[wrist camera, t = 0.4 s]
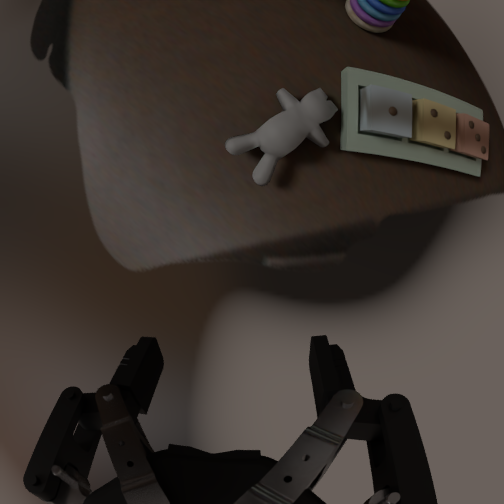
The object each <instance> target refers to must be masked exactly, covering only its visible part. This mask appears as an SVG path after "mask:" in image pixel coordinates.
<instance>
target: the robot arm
mask: <svg viewBox="0 0 504 504" xmlns="http://www.w3.org/2000/svg"><path fill="white" fill-rule="evenodd" d="M163 366H164V360H163V356H162V353H161V351H160V348H159V345H158V342H157V339H156V338H155V337H141V338H140V340H139V342H138V343H137V345H133V346H132V347H131V348H129V349H128V350H127V351H126V353H125V355H124V357H123V359H122V361H121V362H120V365H119V366H118V368H117V370H116V372H115V374H114V376H113V378H112V380H111V382H110V384H106V385H103V386H101V387H100V388H99V389H98V390H97V391H96V393H82V391H81V390H80V389H79V388H78V387H68V388H66V389H65V390H64V391H63V392H62V393H61V395H60V397H59V399H58V401H57V403H56V405H55V407H54V409H53V411H52V413H51V415H50V417H49V419H48V421H47V423H46V425H45V427H44V429H43V431H42V434H41V436H40V438H39V440H38V443H37V445H36V447H35V449H34V452H33V454H32V457H31V459H30V462H29V464H28V466H27V469H26V472H25V474H24V478H23V481H24V485H25V487H26V489H27V490H28V491H29V492H31V493H32V494H34V495H35V496H37V497H39V498H40V499H41V500H43V501H44V502H46V503H48V504H326V503H325V502H324V501H322V500H321V499H320V498H319V497H318V496H317V495H316V494H314V493H313V492H312V490H313V488H314V487H315V486H316V485H317V483H318V482H319V481H320V479H321V478H322V477H323V475H324V474H325V472H326V471H327V469H328V468H329V466H330V465H331V463H332V462H333V460H334V459H335V457H336V456H337V454H338V453H339V451H340V450H341V448H342V447H343V445H344V443H345V442H346V440H347V439H356V440H366V441H367V447H368V453H369V459H370V465H371V472H372V479H373V487H374V495H373V496H371V497H370V498H369V499H368V500H366V502H365V503H364V504H437V499H436V494H435V489H434V485H433V481H432V476H431V472H430V468H429V464H428V461H427V457H426V453H425V450H424V446H423V443H422V439H421V436H420V433H419V430H418V426H417V423H416V420H415V417H414V414H413V411H412V408H411V405H410V402H409V400H408V399H407V398H406V397H405V396H403V395H400V394H390V395H388V396H386V397H385V398H384V399H383V400H372V399H367V398H364V397H362V396H361V395H360V394H359V393H358V392H357V391H356V390H355V388H354V384H353V381H352V378H351V374H350V371H349V368H348V366H347V362H346V360H345V355H344V353H343V350H342V349H341V348H340V347H339V346H338V345H337V344H335V345H329V343H328V339H327V336H326V335H323V336H312V337H311V343H310V354H309V368H310V374H311V380H312V386H313V392H314V398H315V404H316V411H317V420H316V421H315V422H314V424H313V425H312V426H311V427H307V428H306V430H304V432H303V433H302V434H301V435H300V437H299V438H298V439H297V440H296V441H295V443H294V444H293V445H292V446H291V447H290V449H289V450H288V451H287V452H286V453H285V454H284V456H283V457H282V458H281V459H280V460H279V461H276V460H274V459H272V458H269V457H266V456H261V453H260V450H234V451H228V452H222V453H216V454H211V453H208V452H205V451H202V450H199V449H196V448H193V447H189V446H181V445H173V444H169V447H168V449H166V450H161V451H157V452H154V450H153V449H152V447H151V445H150V444H149V441H148V439H147V437H146V435H145V433H144V431H143V429H142V427H141V425H140V423H139V420H138V419H137V417H138V414H139V413H141V414H147V411H148V408H149V406H150V403H151V400H152V397H153V394H154V392H155V389H156V386H157V383H158V380H159V378H160V375H161V373H162V370H163ZM77 423H78V426H77V428H76V425H77ZM75 428H76V431H75V433H74V430H75ZM73 433H74V436H73ZM101 435H103V439H104V441H105V444H106V447H107V450H108V453H109V456H110V458H111V461H112V464H113V466H114V469H115V471H116V474H117V477H116V478H114V479H113V480H111V481H110V482H108V483H107V484H105V485H103V486H102V487H100V488H99V489H97V490H95V491H94V492H92V490H91V489H90V483H89V481H88V479H87V478H88V475H89V471H90V468H91V465H92V461H93V459H94V455H95V452H96V449H97V446H98V443H99V440H100V437H101Z"/></svg>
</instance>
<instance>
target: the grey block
mask: <svg viewBox="0 0 504 504" xmlns="http://www.w3.org/2000/svg"><path fill="white" fill-rule="evenodd" d="M360 131H365V132H371V133H377V134H383V135H388V136H393V137H401V138H412V94H408V93H405V92H401V91H397V90H393V89H389V88H385V87H381V86H377V85H372V84H371V85H369V86H367V87H365V88H362V89H360Z"/></svg>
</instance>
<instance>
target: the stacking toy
mask: <svg viewBox="0 0 504 504" xmlns="http://www.w3.org/2000/svg"><path fill="white" fill-rule="evenodd" d="M409 1H410V0H346V4H345V8H346V11H347V14H348V15H349V17H350V18H351V20H352V21H353V22H354V23H355V24H357V25H358V26H359V27H361V28H363V29H365V30H367V31H370V32H375V33H381V32H385V31H387V30H389V29H390V28H391V27H392V26H393V24H394V23H395V21H396V19H398V18H399V17H400V15H401V13H402V12H404V10H405V8H406V6H407V5H408V3H409Z"/></svg>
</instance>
